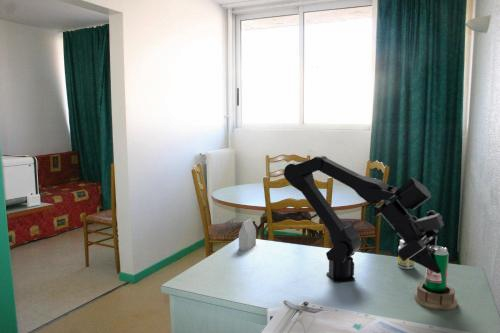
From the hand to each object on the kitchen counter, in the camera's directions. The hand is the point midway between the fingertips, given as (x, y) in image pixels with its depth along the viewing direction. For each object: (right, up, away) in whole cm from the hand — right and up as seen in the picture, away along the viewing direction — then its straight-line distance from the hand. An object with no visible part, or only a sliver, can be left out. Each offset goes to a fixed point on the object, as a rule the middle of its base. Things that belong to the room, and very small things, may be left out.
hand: (442, 269), depth 103 cm
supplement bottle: (+1, -6, +26) cm, 26 cm away
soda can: (-1, -7, +2) cm, 7 cm away
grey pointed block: (-50, -4, +45) cm, 68 cm away
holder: (-1, -9, +2) cm, 9 cm away
